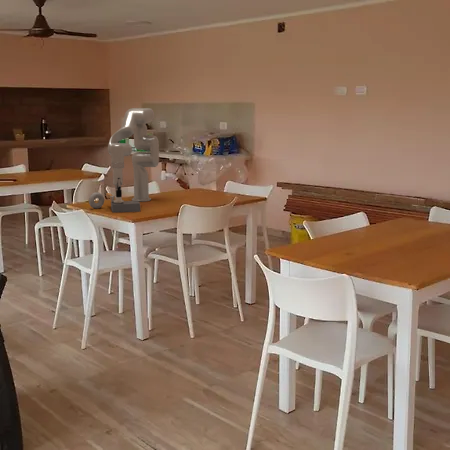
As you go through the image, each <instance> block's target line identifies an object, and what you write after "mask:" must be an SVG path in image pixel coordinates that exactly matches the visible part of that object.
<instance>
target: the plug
mask: <svg viewBox="0 0 450 450" xmlns="http://www.w3.org/2000/svg"><path fill="white" fill-rule="evenodd" d="M114 193H115V195H114V196H115V200H114V203H116V204H119V203H124V201H125V200H124V199H122V197H123V196H122V197H116V189H114Z"/></svg>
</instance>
